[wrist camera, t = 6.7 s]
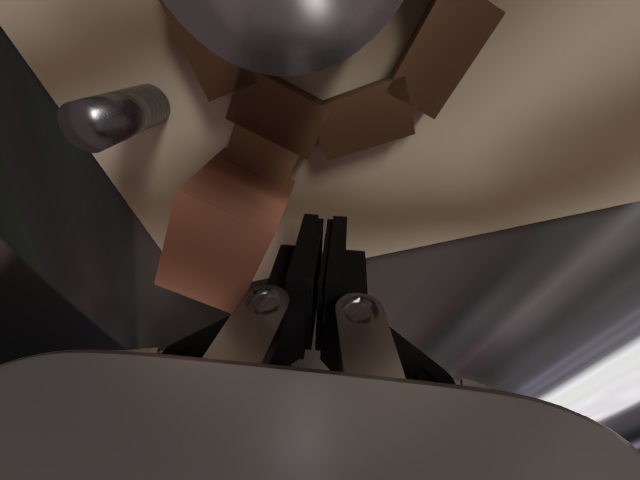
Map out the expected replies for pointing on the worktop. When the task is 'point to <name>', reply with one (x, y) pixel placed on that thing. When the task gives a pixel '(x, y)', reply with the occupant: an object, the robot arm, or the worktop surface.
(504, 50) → the board
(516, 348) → the worktop surface
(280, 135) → the ring with handle
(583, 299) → the worktop surface
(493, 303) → the worktop surface
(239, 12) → the grey cylinder
